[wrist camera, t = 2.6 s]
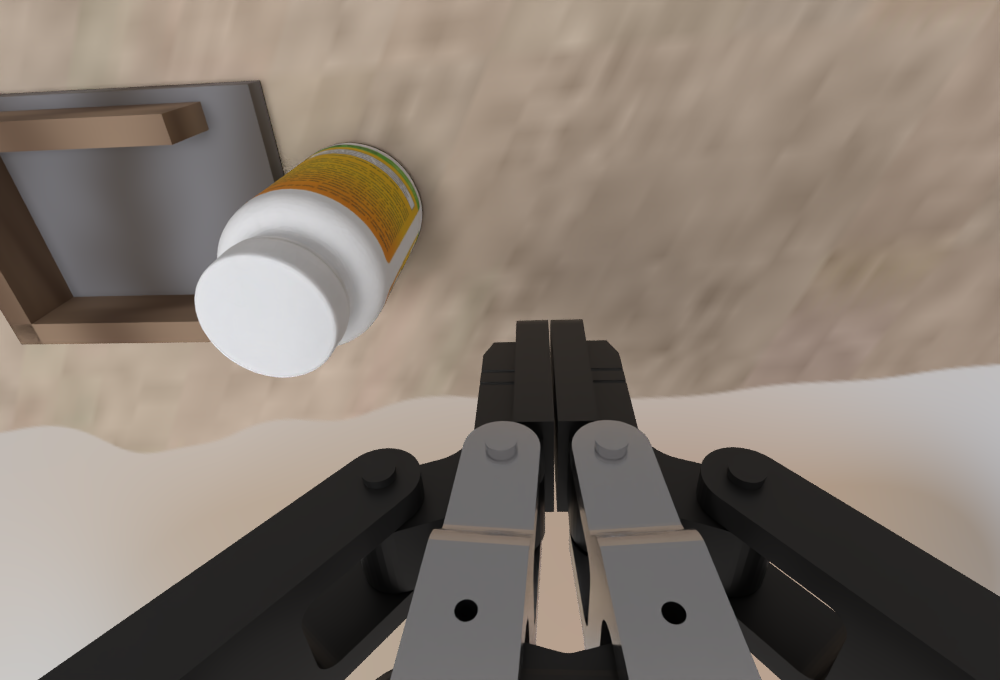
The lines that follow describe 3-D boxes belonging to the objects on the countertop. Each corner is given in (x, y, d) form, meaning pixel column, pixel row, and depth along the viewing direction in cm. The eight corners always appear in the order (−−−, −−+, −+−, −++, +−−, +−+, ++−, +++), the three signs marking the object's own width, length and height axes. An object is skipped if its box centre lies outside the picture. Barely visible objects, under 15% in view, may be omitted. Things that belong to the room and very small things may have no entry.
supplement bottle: (291, 132, 22) (143, 215, 14) (426, 148, 22) (358, 241, 14) (303, 256, 25) (186, 386, 17) (422, 271, 25) (364, 408, 17)
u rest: (259, 80, 21) (213, 95, 18) (319, 310, 26) (291, 350, 23) (-31, 95, 22) (-120, 111, 19) (83, 314, 27) (27, 354, 24)
